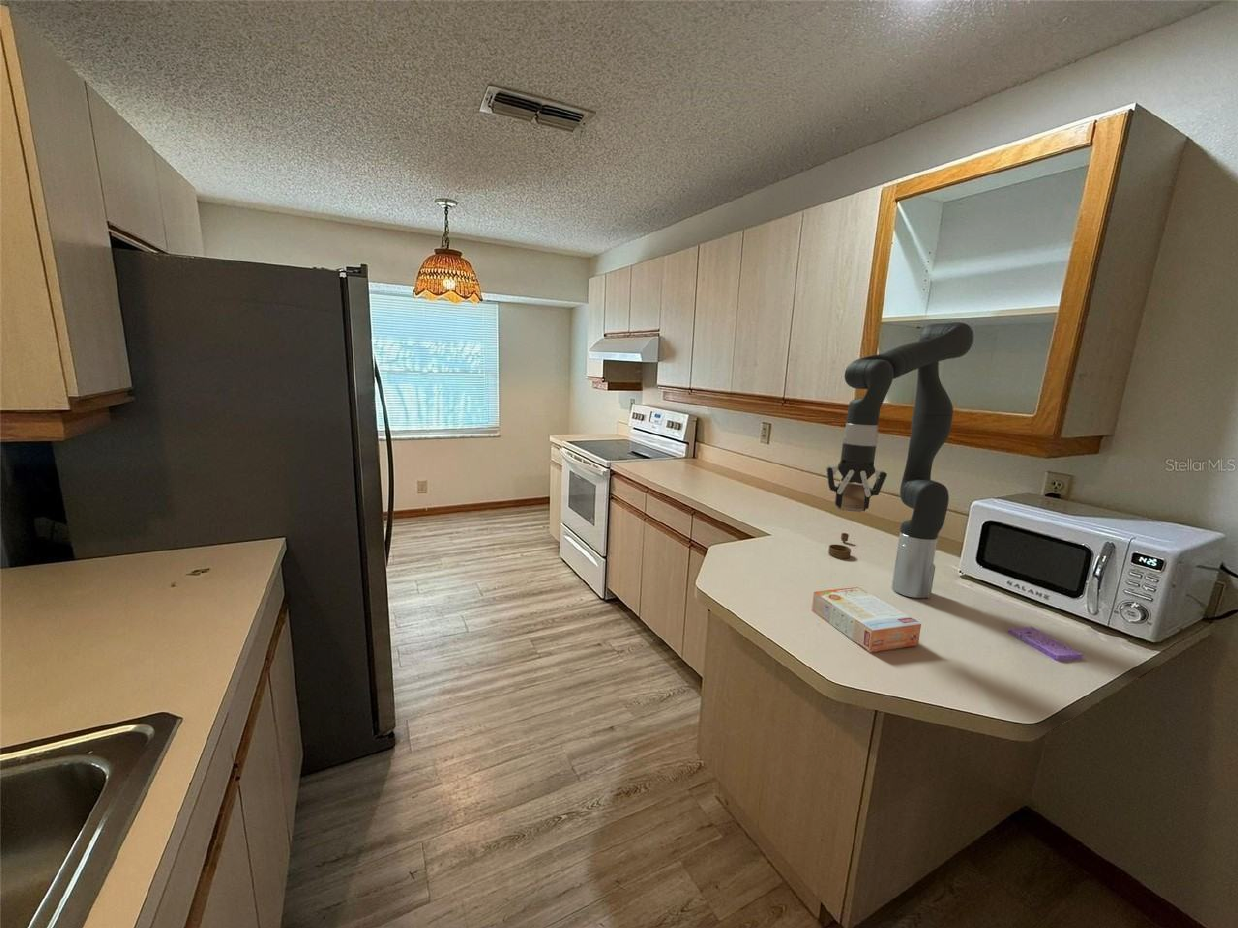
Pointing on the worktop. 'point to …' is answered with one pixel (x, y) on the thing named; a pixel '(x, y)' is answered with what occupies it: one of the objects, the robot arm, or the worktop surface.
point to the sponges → (1045, 644)
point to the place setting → (840, 549)
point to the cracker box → (866, 619)
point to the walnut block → (853, 498)
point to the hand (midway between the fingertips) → (850, 508)
